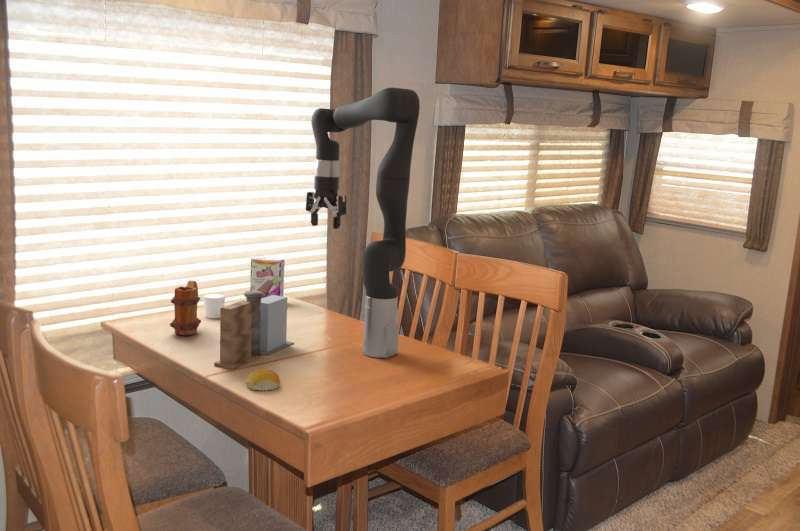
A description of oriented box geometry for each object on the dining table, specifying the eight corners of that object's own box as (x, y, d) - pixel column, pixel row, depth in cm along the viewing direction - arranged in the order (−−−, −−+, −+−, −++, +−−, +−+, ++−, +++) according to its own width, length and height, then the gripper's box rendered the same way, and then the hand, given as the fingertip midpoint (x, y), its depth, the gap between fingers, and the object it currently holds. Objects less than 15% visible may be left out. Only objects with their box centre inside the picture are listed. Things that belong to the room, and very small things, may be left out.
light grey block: (286, 343, 222) (287, 297, 220) (267, 351, 213) (268, 303, 211) (271, 340, 224) (272, 294, 222) (252, 348, 215) (253, 301, 213)
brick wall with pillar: (249, 350, 215) (250, 289, 211) (267, 354, 212) (268, 292, 209) (214, 365, 200) (214, 300, 197) (232, 369, 198) (233, 303, 194)
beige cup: (229, 316, 250) (229, 295, 249) (214, 320, 245) (214, 299, 243) (214, 312, 254) (214, 292, 253) (199, 316, 248) (199, 295, 247)
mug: (194, 338, 223) (194, 289, 220) (167, 337, 223) (167, 287, 220) (207, 325, 237) (208, 279, 235) (182, 324, 237) (182, 278, 235)
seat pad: (271, 339, 227) (271, 338, 227) (294, 343, 224) (294, 342, 224) (244, 350, 214) (244, 349, 214) (267, 355, 211) (267, 354, 211)
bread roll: (277, 379, 193) (278, 364, 192) (281, 391, 184) (281, 376, 184) (245, 380, 191) (245, 365, 190) (247, 392, 182) (247, 377, 182)
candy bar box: (249, 303, 268) (250, 258, 265) (253, 300, 273) (254, 256, 270) (279, 306, 267) (280, 261, 264) (283, 303, 272) (284, 258, 269)
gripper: (352, 176, 230) (350, 228, 233) (316, 172, 238) (315, 223, 241) (337, 177, 224) (335, 230, 227) (301, 173, 232) (299, 225, 235)
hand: (325, 227), depth 234 cm, fingers open, 8 cm apart
